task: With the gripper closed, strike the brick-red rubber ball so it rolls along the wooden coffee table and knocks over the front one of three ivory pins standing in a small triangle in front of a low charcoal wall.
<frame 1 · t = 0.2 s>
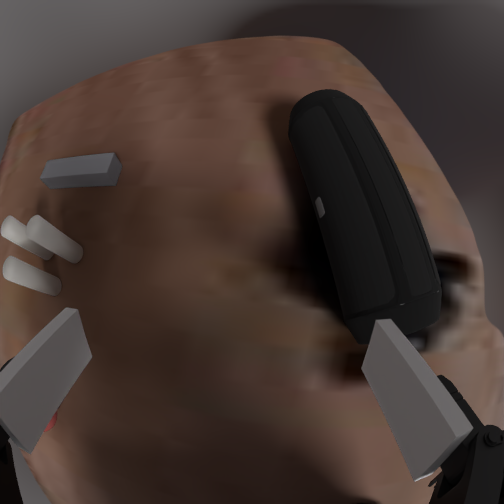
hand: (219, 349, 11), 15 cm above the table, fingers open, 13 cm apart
portable speaker: (345, 224, 30), on the table
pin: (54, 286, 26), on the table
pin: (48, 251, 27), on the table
back wall: (83, 177, 30), on the table
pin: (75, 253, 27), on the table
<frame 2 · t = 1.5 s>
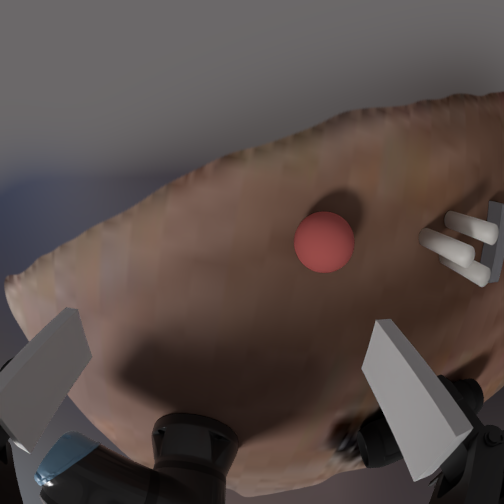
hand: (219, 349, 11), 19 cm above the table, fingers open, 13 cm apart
portable speaker: (413, 406, 39), on the table
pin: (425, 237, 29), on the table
ball: (324, 242, 26), on the table
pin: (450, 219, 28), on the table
back wall: (489, 239, 29), on the table
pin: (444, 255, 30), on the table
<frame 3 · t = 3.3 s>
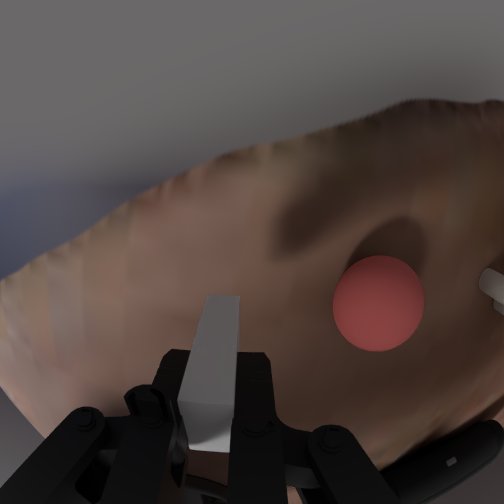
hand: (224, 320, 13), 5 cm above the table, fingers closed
portable speaker: (431, 451, 29), on the table
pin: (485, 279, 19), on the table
ball: (379, 303, 15), on the table
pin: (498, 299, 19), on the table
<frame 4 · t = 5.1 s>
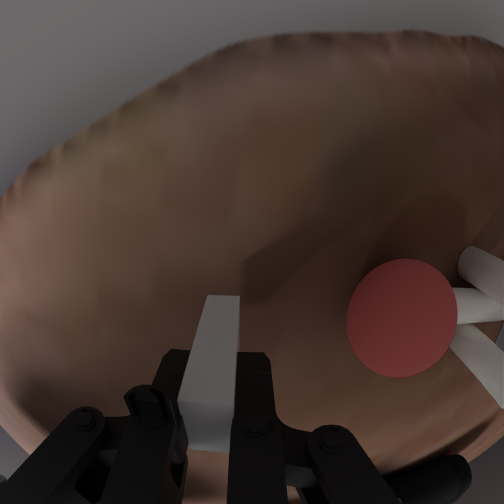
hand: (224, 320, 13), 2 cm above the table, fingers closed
portable speaker: (380, 484, 25), on the table
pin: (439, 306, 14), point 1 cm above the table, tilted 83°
ball: (402, 318, 12), on the table
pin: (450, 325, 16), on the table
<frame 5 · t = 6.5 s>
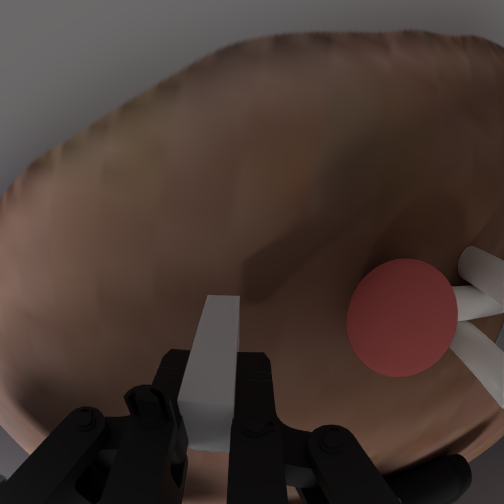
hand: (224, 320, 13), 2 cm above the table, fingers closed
portable speaker: (380, 484, 25), on the table
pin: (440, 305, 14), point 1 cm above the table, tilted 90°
ball: (403, 318, 12), on the table
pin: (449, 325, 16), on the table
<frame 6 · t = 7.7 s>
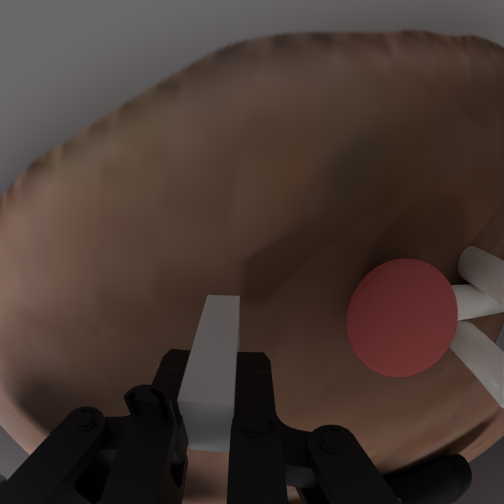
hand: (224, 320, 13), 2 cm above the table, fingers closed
portable speaker: (380, 484, 25), on the table
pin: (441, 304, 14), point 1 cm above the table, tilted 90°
ball: (403, 318, 12), on the table
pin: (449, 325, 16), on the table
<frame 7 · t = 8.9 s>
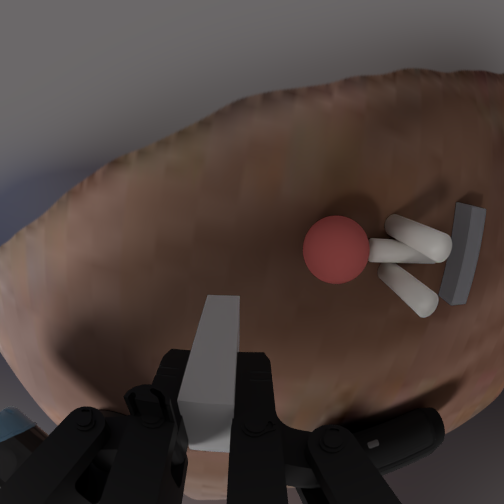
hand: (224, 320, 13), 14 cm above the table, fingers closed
portable speaker: (362, 432, 37), on the table
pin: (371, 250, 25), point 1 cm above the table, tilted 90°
ball: (336, 249, 23), on the table
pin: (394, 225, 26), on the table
back wall: (456, 250, 26), on the table
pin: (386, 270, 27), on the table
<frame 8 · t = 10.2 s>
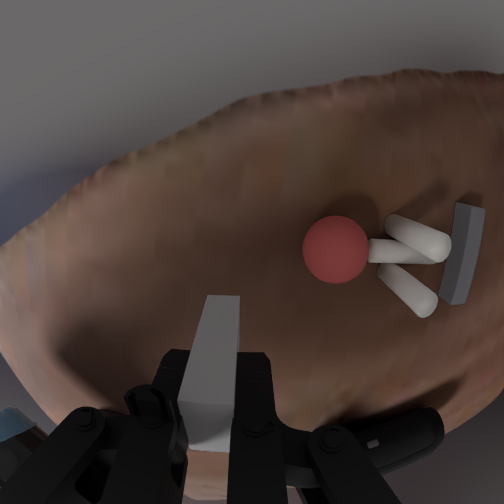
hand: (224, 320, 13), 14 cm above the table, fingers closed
portable speaker: (361, 432, 37), on the table
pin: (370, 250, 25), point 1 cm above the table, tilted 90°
ball: (335, 249, 23), on the table
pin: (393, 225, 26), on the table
back wall: (455, 250, 27), on the table
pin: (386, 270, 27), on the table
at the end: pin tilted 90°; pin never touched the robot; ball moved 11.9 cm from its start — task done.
